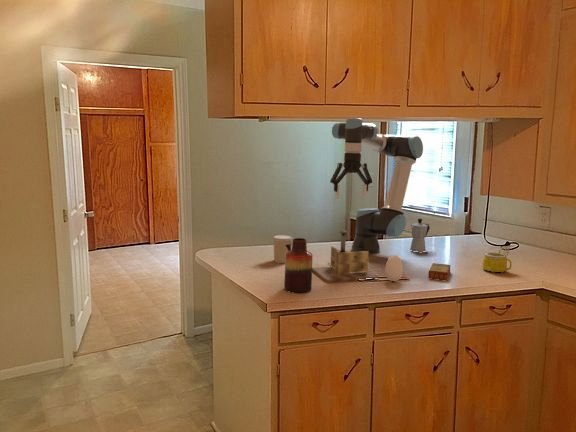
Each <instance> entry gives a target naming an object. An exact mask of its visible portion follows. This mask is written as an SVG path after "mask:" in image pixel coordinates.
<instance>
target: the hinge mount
mask: <svg viewBox="0 0 576 432" xmlns="http://www.w3.org/2000/svg"><path fill="white" fill-rule="evenodd" d="M330 247H331V248H330V266H319V267H312V273H313V274H315V275H317V276H318V278H320V279H322V280H323V281H324V282H326V283H343V282H346V283H347V282H356V281H355V280H359V279H366V278H379V277H380V276H379V275H376V273H373V272H371V271H370V270H369V255H370V254H369V251H362V252H354V251H349V250H346V249H345V252H340V251H341V249H340V250H339V249H338V248H336V247H334V246H330Z"/></svg>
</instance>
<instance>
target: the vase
mask: <svg viewBox="0 0 576 432" xmlns="http://www.w3.org/2000/svg"><path fill="white" fill-rule="evenodd" d="M313 256H314V255H313V253H312V252H310V251H309V250H308V247H307V239H306V238H304V237H295V238H294V237H293V238H292V247H291V251H288V252H287V253H286V254H285V263H284V290H285V291H286V290H287V291H286V292H288V291H290V292H289V293H292V292H294V293H293V294H306V293H309V292H311V291H312V283H313V277H312V276H313V272H312V268H313Z"/></svg>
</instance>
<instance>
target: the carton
mask: <svg viewBox="0 0 576 432" xmlns="http://www.w3.org/2000/svg"><path fill="white" fill-rule="evenodd" d="M449 274H450V275H451V264H446V263H435V262H433V263H432V264H431V265H430V267H429V270H428V278H432V279H431V280H434V279H439V280H438V281H442V280H446V281H445V282H448V280H447V279H449V277H450V275H449ZM428 278H427V279H428Z"/></svg>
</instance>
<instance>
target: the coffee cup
mask: <svg viewBox="0 0 576 432" xmlns="http://www.w3.org/2000/svg"><path fill="white" fill-rule="evenodd" d="M272 240H273V260H274V262H275V263H278V264H285V254H286V253H287V252H288V251H291V250H292V241H293V237H292V236H291V235H283V234H282V235H281V234H278V235H274V236H273V237H272Z"/></svg>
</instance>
